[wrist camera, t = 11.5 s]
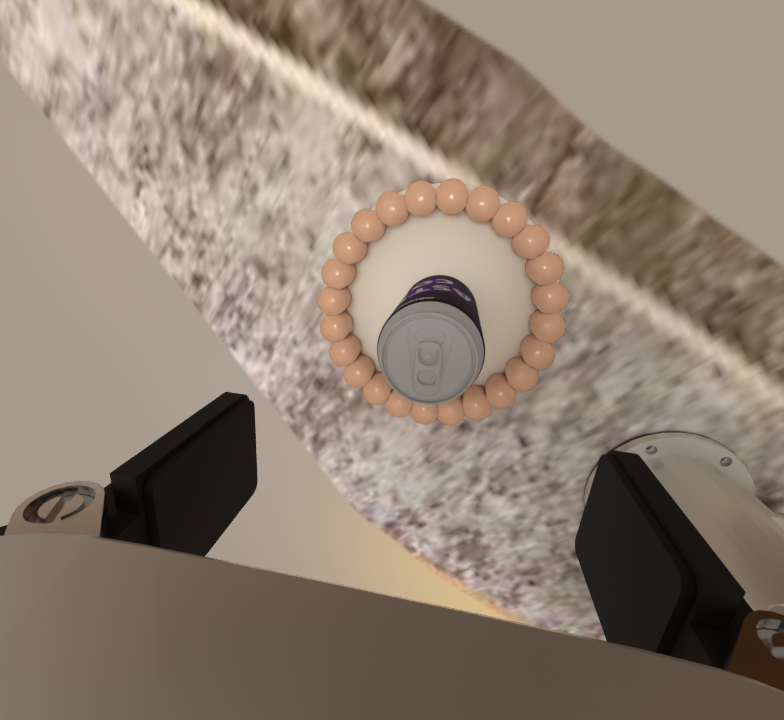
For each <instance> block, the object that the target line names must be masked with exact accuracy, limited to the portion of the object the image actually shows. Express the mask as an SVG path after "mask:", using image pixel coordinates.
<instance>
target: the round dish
mask: <svg viewBox="0 0 784 720" xmlns="http://www.w3.org/2000/svg"><path fill="white" fill-rule="evenodd" d="M549 241H550V239H549V234H548V232H547V231H546V229H545V228H543V227H542V226H540V225H534V224H533V223H532V222H531V220H530V219H529V218H528V214H527V211H526V209H525V208H524V206H523V205H521V204H520V203H518V202H508V201H506V200H505V199H503V198H501V197H499V195H498V193H497V192H496V190H494V189H493V188H491V187H489V186H479V187H477V188H476V187H473V186H469V185H465V184H464V183H463V182H462V181H460V180H458V179H448V180H445V181H444V182H442V183H435V184H430V183H428V182H426V181H416V182H414V183H412V184H411V185H410V186H409V187H408V188H407V189H406V190H403V191H401V192H399V193H397V192H394V191H389V192H385V193H384V194H382V195H381V196H380V197H379V198H378V200H377V202H376V205H375V206H374V207H373V208H371V209H370V210H369V209H363V210H360V211H358V212H357V213H356V214H355V215H354V216H353V218H352V221H351V230H350V231H349V232H346V233H342V234H340V235H338V236H337V237H336V239H335V240H334V243H333V253H334V255H335V258H334V259H332V260H329V261H327V262H326V263H325V264H324V266H323V268H322V272H321V275H322V279H323V281H324V283H325V284H326V285H327V286H328V287H326V288H324V289H323V290H321V291H320V293H319V295H318V298H317V303H318V307H319V308H320V310H321V311H322V312H323V313H324V314H326V315H327V316H326V317H324V318H323V320H322V321H321V323H320V331H321V334H322V335H323V337H324V338H325V339H326V340H328V341H330V342H334V343H333V344H332V345H331V346H330V349H329V355H330V358H331V360H332V361H333V362H334V363H335V364H336V365H338V366H342V367H346V368H345V370H344V378H345V380H346V382H347V383H348V384H349V385H350V386H352V387H355V388H362V387H364V388H363V395H364V398H365V399H366V400H367V401H368V402H369V403H371V404H373V405H382V404H384V403H385V402H386V404H385V405H386V409H387V411H388V412H389V413H390V414H391V415H392V416H395V417H399V418H400V417H405V416H407V415H409V414H410V412H411V416H412V418H413V419H414V420H415V421H416V422H417V423H420V424H430V423H432V422H434V421H435V420H436V418H437V417H438V419H439V420H440V421H441V422H442V423H443V424H446V425H456V424H458V423H460V422H461V421H462V420H463V418H464V415H466V416H467V417H468V418H470V419H472V420H482V419H484V418H486V417H487V416H488V415H489V414H490V412H491V406H493V407H494V408H497V409H505V408H508V407H510V406H511V405H512V404H513V403H514V402H515V400H516V391H519V392H526V391H529V390H531V389H532V388H534V387H535V385H536V384H537V382H538V374H537V371H536V369H537V370H540V369H544V368H547V367H548V366H550V365H551V364H552V363H553V361H554V359H555V350H554V348H553V346H552V345H551V344H550V343H553V342H556V341H558V340H559V339H561V338H562V336H563V335H564V333H565V331H566V323H565V321H564V319H563V318H562V317H561V316H560V315H559V312H561V311H562V310H563V309H564V308H565V307H566V306H567V304H568V301H569V293H568V291H567V289H566V288H565V287H564V286H563V285H561V284H560V283H559V278H560V277H561V275H562V273H563V269H564V266H563V262H562V260H561V258H560V257H559V256H558V255H556V254H554V253H551V251H550V249H549ZM434 275H445V276H450V277H453V278H455V279H458V280H459V281H461V282H462V283H464V284H465V285H466V286H467V287H468V288H469V290H470V291H471V292H472V294H473V296H474V298H475V301H476V305H477V309H478V314H479V319H480V324H481V328H482V333H483V338H484V343H485V360H484V364H483V367H482V370H481V372H480V374H479V376H478V378H477V379H476V381H475V382H474V383H473V384H472V385H471V386H470V387H469V388H468V389H467V390H466V391H465V392H464V393H463V394H461V395H460V396H459V397H457V398H456V399H454V400H452V401H449V402H447V403H444V404H439V405H422V404H417V403H414V402H411V401H408V400H407V399H405V398H403V397H401V396H400V395H399V394H397V393H396V392H395V391H394V390H393V389H392V388H391V387H390V385H389V384H388V383H387V381H386V379H385V377H384V375H383V372H382V370H381V368H380V365H379V361H378V356H377V343H378V338H379V334H380V331H381V329H382V327H383V325H384V324H385V322H386V321H387V319H388V318H389V317H390V315H391V314H392V313H393V311H394V310H395V309H396V307H397V306H398V305H399V303H400V302H401V300H402V299H403V298H404V296H405V295H406V294H407V292H408V291H409V290H410V289H411V287H412V286H413V285H414V284H416V283H417V282H418V281H420V280H422V279H424V278H426V277H429V276H434ZM515 390H516V391H515Z"/></svg>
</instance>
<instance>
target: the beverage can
mask: <svg viewBox="0 0 784 720" xmlns="http://www.w3.org/2000/svg"><path fill="white" fill-rule="evenodd" d="M377 356H378V361H379V365H380V368H381V370H382V372H383V375H384V377H385V379H386V381H387V383H388V384H389V385H390V387H391V388H392V389H393V390H394V391H395V392H396V393H397V394H399V395H400V396H401V397H403V398H405V399H407V400H408V401H411V402H414V403H417V404H422V405H439V404H444V403H447V402H449V401H452V400H454V399H456V398H457V397H459V396H460V395H461V394H463V393H464V392H465V391H466V390H467V389H468V388H469V387H470V386H471V385H472V384H473V383H474V382H475V381H476V379H477V378H478V376H479V374H480V372H481V370H482V367H483V364H484V360H485V343H484V338H483V333H482V328H481V324H480V319H479V314H478V309H477V305H476V301H475V298H474V296H473V294H472V292H471V291H470V290H469V288H468V287H467V286H466V285H465V284H464V283H462V282H461V281H459V280H458V279H455V278H453V277H450V276H445V275H434V276H429V277H426V278H424V279H422V280H420V281H418V282H417V283H416V284H414V285H413V286H412V287H411V289H410V290H409V291H408V292H407V294H406V295H405V296H404V298H403V299H402V300H401V302H400V303H399V305H398V306H397V307H396V309H395V310H394V311H393V313H392V314H391V315H390V317H389V318H388V319H387V321H386V322H385V324H384V325H383V327H382V329H381V331H380V334H379V338H378V343H377Z"/></svg>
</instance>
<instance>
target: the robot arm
mask: <svg viewBox="0 0 784 720" xmlns="http://www.w3.org/2000/svg"><path fill="white" fill-rule="evenodd" d="M254 410H255V409H254V403H253V402H252V401H250V400H249V398H248V396H247V395H244V394H237V393H230V392H225V393H223V394H222V395H221V396H219V397H218V398H216V399H215V400H214V401H212V402H211V403H209V404H208V405H206V406H205V407H203V408H202V409H201V410H199V411H198V412H196V413H195V414H193V415H192V416H191V417H189V418H188V419H186V420H185V421H184V422H182V423H181V424H179V425H178V426H177V427H175V428H174V429H172V430H171V431H169V432H168V433H167V434H165V435H164V436H162V437H161V438H159V439H158V440H157V441H155V442H154V443H152V444H151V445H149V446H148V447H147V448H145V449H144V450H142V451H141V452H140V453H138V454H137V455H135V456H134V457H132V458H131V459H130V460H128V461H127V462H125V463H124V464H122V465H121V466H120V467H118V468H117V469H115V470H114V471H113V472H111V473H110V477H111V484H109V485H107V486H106V487H105V488H103V487H102V486H101V485H100V484H98V483H95V482H91V481H74V482H67V483H63V484H59V485H55V486H52V487H50V488H47V489H45V490H43V491H40V492H38V493H36V494H34V495H33V496H31V497H29V498H27V499H26V500H25V501H24V502H22V503H21V504H20V505H19V506H18V507H17V508H16V510H15V511H14V513H13V514H12V516H11V519H10V521H9V524H8V525H6V526H2V527H0V720H784V514H782V513H779V514H777V513H773V512H772V511H771V510H770V509H769V508H768V507H767V506H766V505H764V504H763V503H762V502H761V501H760V500H759V499H758V498H757V497H756V489H755V485H754V481H753V478H752V476H751V474H750V472H749V470H748V469H747V467H746V466H745V465H744V464H743V463H742V461H741V460H740V459H739V458H738V457H737V456H736V455H734V454H733V453H732V452H731V451H729V450H728V449H727V448H726V447H724V446H722V445H720V444H719V443H717V442H715V441H713V440H711V439H708V438H705V437H702V436H699V435H694V434H687V433H659V434H653V435H647V436H644V437H641V438H638V439H635V440H632V441H630V442H628V443H626V444H624V445H622V446H620V447H618V448H616V449H615V450H611V451H610V452H609V453H608V455H604V454H603V455H602V456H601V457H600V459H599V462H598V465H597V466H596V468H595V469H594V471H593V472H592V474H591V475H590V477H589V480H588V483H587V485H586V488H585V496H584V503H585V509H584V512H583V516H582V519H581V522H580V526H579V529H578V532H577V536H576V540H575V550H576V554H577V557H578V560H579V563H580V566H581V569H582V571H583V574H584V577H585V580H586V583H587V586H588V588H589V591H590V594H591V597H592V600H593V603H594V606H595V608H596V611H597V614H598V617H599V620H600V623H601V625H602V628H603V631H604V634H605V637H606V640H607V641H602V640H598V639H593V638H588V637H584V636H579V635H574V634H570V633H565V632H560V631H556V630H551V629H547V628H542V627H537V626H533V625H528V624H523V623H519V622H514V621H509V620H505V619H500V618H496V617H490V616H486V615H482V614H477V613H472V612H468V611H463V610H458V609H454V608H449V607H444V606H439V605H435V604H430V603H425V602H421V601H416V600H411V599H407V598H402V597H397V596H392V595H388V594H383V593H378V592H373V591H368V590H364V589H359V588H354V587H349V586H344V585H340V584H335V583H330V582H325V581H321V580H316V579H311V578H306V577H301V576H297V575H292V574H287V573H282V572H277V571H272V570H267V569H262V568H257V567H252V566H247V565H242V564H238V563H233V562H228V561H223V560H218V559H213V558H208V557H205V555H206V554H207V553H208V552H209V550H210V549H211V548H212V547H213V545H214V544H215V543H216V541H217V540H218V539H219V537H220V536H221V535H222V534H223V532H224V531H225V530H226V528H227V527H228V526H229V525H230V523H231V522H232V521H233V519H234V518H235V517H236V515H237V514H238V513H239V511H240V510H241V509H242V508H243V507H244V505H245V504H246V503H247V501H248V500H249V499H250V497H251V496H252V495H253V493H254V492H255V489H256V486H257V461H256V460H257V458H256V433H255V411H254Z"/></svg>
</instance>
